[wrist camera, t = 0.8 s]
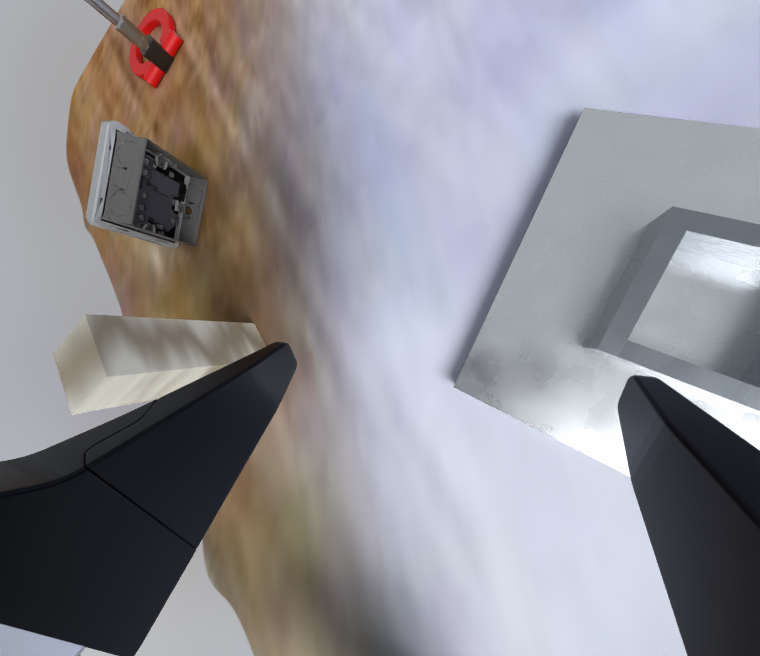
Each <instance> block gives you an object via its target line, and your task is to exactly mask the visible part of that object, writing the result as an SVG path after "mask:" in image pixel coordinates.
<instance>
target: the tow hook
mask: <svg viewBox="0 0 760 656" xmlns="http://www.w3.org/2000/svg"><path fill="white" fill-rule="evenodd" d="M85 1H86V2H87V3H89V4H90V5H91V6H92V7H93V8H95V9H96V10H97V11H98V12H99V13H100V14H102V15H103V16H104V17H105V18H106V19H108V20H109V21H110V22H111V23H112V24H114V26H115V28H116V30H117V31H118V32H120V33H121V34H122V35H123V36H124V37H126V38H127V39H128V40H129V41H131V42H132V44H131V48H130V56H129V59H130V66H131V69H132V71H133V72H134V74H136V75H137V76H138V77H140V78H142V79H145V80H146V81H147V82H148V83H149V84H150V85H152V86H153V87H155V88H156V87H157V86H158V84H159V82H160V80H161V79H162V77H163V75H164V74H165V73H167V71H168V69H169V67H170V66H171V64H172V62H173V61H174V56H175V55H176V53H177V51H178V49H179V48H180V46H181V44H182V43H183V40H182V39H181V38H180V37H179V36H178V35H177V34H176V33H175V24H174V21H173V18H172V17H171V16H170V14H169V13H168V12H167V11H165V10H164V9H163V8H156V9H153V10H152V11H150V12H149V13H148V14H147V15H146V16H145V17H144V18H143V20H142V21H141V23H140V24H139V26H138V28H137V27H136V26H135V25H134V24H133V23H131V22H130V21H129V20H128V19H127V18H126V17H125V16H123V15H119V14H118V13H117V12H115V11H114V10H113V9H112V8H111V7H110V6H109V5H107V4H106V3H105V2H104V1H103V0H85ZM159 25H161V26H162V34H161V39H160V42H161V44H162V45H160V44H159V43H158V42H157V41H156V40H155V39H153V38H152V37H151V36H150V35H149V34H150V33H151V31H152V30H153V29H154V28H156V27H157V26H159ZM142 54H143V56H144V57H146V58H147V59H148V60H149V61H147V62H146V63H142Z"/></svg>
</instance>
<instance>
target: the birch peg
mask: <svg viewBox="0 0 760 656" xmlns="http://www.w3.org/2000/svg"><path fill="white" fill-rule="evenodd" d="M264 347H266V345H265V343H264V341H263V339H262V337H261V335H260V333H259V331H258V329H257V328H256V326H255V324H254V323H238V322H219V321H200V320H182V319H163V318H144V317H126V316H107V315H87V314H85V315H84V316H83V317H82V319H81V320H80V321H79V323H78V324H77V325H76V326H75V328H74V329H73V330H72V331H71V333H70V334H69V335H68V337H67V338H66V339H65V341H64V342H63V343H62V344H61V345H60V347H59V348H58V349H57V351H56V352H55V353H54V358H55V361H56V364H57V368H58V371H59V374H60V378H61V381H62V384H63V388H64V391H65V394H66V397H67V401H68V404H69V407H70V410H71V414H72V415H75V414H80V413H85V412H91V411H96V410H102V409H107V408H112V407H117V406H123V405H128V404H133V403H139V402H144V401H149V400H155V399H159V398H160V397H162V396H164V395H167V394H169V393H171V392H173V391H175V390H177V389H179V388H181V387H183V386H185V385H187V384H189V383H191V382H194V381H196V380H198V379H200V378H202V377H204V376H206V375H208V374H210V373H212V372H214V371H216V370H218V369H221V368H223V367H225V366H227V365H229V364H231V363H233V362H235V361H237V360H239V359H241V358H243V357H245V356H248V355H250V354H252V353H254V352H256V351H258V350H260V349H262V348H264Z"/></svg>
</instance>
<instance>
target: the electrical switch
mask: <svg viewBox="0 0 760 656" xmlns="http://www.w3.org/2000/svg"><path fill="white" fill-rule="evenodd" d="M203 179H205V180H203ZM194 185H196V186H194ZM207 185H208V181H207V179H206V178H204V177H203V176H201V175H200V174H199V173H197V172H196V171H194V170H193V169H191V168H190V167H188V166H187V165H185V164H184V163H182V162H181V161H179V160H178V159H176V158H175V157H174V156H172V155H171V154H169V153H168V152H166V151H165V150H163V149H162V148H160V147H159V146H157V145H156V144H154V143H153V142H151V141H150V140H149V139H145V138H140V137H137V136H136V135H134V134H133V133H131V130H129V129H128V128H126V127H125V126H123V125H122V124H121V123H119V122H118V121H104V122H102V123H101V129H100V135H99V141H98V147H97V152H96V158H95V164H94V170H93V176H92V182H91V188H90V194H89V200H88V206H87V212H86V218H87V220H88V222H89V223H90V224H91V225H93V226H96V227H99V228H103V229H106V230H109V231H114V232H117V233H121V234H124V235H128V236H131V237H134V238H138V239H141V240H145V241H148V242H152V243H155V244H158V245H162V246H166V247H169V248H177V247H178V246H179V243H181V244H188V245H192V246H193V245H194V246H196V241H197V236H198V231H199V226H200V221H201V216H202V210H203V205H204V200H205V195H206V190H207ZM201 191H202V192H201ZM187 200H188V201H189V202H192V203H196V204H191V203H189V202H188V201H187ZM199 201H200V202H199ZM186 206H187V207H190V208H191V209H192V213H191V214H190V215H189V214H185V210H186ZM185 218H191V219H192V220H193V221H192V220H191V219H185Z"/></svg>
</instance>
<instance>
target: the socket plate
mask: <svg viewBox="0 0 760 656" xmlns="http://www.w3.org/2000/svg"><path fill="white" fill-rule="evenodd" d="M633 375H640V376H651V377H656V378H658V379H660V380H662V381H663V382H664V383H666V384H667V385H669V386H670V387H672V388H673V389H674V390H676V391H677V392H679V393H680V394H681V395H683V396H684V397H686V398H687V399H688V400H690V401H691V402H693V403H694V404H695V405H697V406H698V407H700V408H701V409H702V410H704V411H705V412H707V413H708V414H710V415H711V416H712V417H714V418H715V419H717V420H718V421H719V422H721V423H722V424H724V425H725V426H726V427H728V428H729V429H731V430H732V431H733V432H735V433H736V434H738V435H739V436H741V437H742V438H743V439H745V440H746V441H748V442H749V443H750V444H752V445H753V446H755V447H756V448H757V449H759V450H760V129H757V128H749V127H740V126H732V125H723V124H715V123H707V122H698V121H690V120H681V119H673V118H665V117H656V116H648V115H639V114H631V113H622V112H614V111H606V110H597V109H589V108H584V109H583V112H582V114H581V116H580V118H579V120H578V122H577V124H576V127H575V129H574V131H573V133H572V135H571V137H570V139H569V141H568V144H567V146H566V148H565V150H564V152H563V154H562V156H561V159H560V161H559V163H558V165H557V167H556V169H555V171H554V174H553V176H552V178H551V180H550V182H549V184H548V186H547V188H546V191H545V193H544V195H543V197H542V199H541V201H540V203H539V206H538V208H537V210H536V212H535V214H534V216H533V218H532V220H531V223H530V225H529V227H528V229H527V231H526V233H525V235H524V238H523V240H522V242H521V244H520V246H519V248H518V250H517V253H516V255H515V257H514V259H513V261H512V263H511V265H510V267H509V270H508V272H507V274H506V276H505V278H504V280H503V282H502V285H501V287H500V289H499V291H498V293H497V295H496V297H495V299H494V302H493V304H492V306H491V308H490V310H489V312H488V314H487V317H486V319H485V321H484V323H483V325H482V327H481V329H480V332H479V334H478V336H477V338H476V340H475V342H474V344H473V346H472V349H471V351H470V353H469V355H468V357H467V359H466V361H465V364H464V366H463V368H462V370H461V372H460V374H459V376H458V378H457V381H456V383H455V385H454V387H455V388H457V389H459V390H460V391H462V392H464V393H466V394H468V395H470V396H472V397H474V398H476V399H478V400H480V401H482V402H484V403H486V404H488V405H490V406H492V407H494V408H496V409H498V410H500V411H502V412H504V413H506V414H508V415H510V416H512V417H514V418H516V419H518V420H520V421H522V422H524V423H525V424H527V425H529V426H531V427H533V428H535V429H537V430H539V431H541V432H543V433H545V434H547V435H549V436H551V437H553V438H555V439H557V440H559V441H561V442H563V443H565V444H567V445H569V446H571V447H573V448H575V449H577V450H579V451H581V452H583V453H585V454H587V455H589V456H590V457H592V458H594V459H596V460H598V461H600V462H602V463H604V464H606V465H608V466H610V467H612V468H614V469H616V470H618V471H620V472H622V473H624V474H626V475H628V476H630V473H629V468H628V463H627V458H626V452H625V447H624V442H623V436H622V431H621V426H620V420H619V415H618V401H619V398H620V396H621V394H622V391H623V389H624V387H625V384H626V382H627V380H628V378H629V377H630V376H633Z"/></svg>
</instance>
